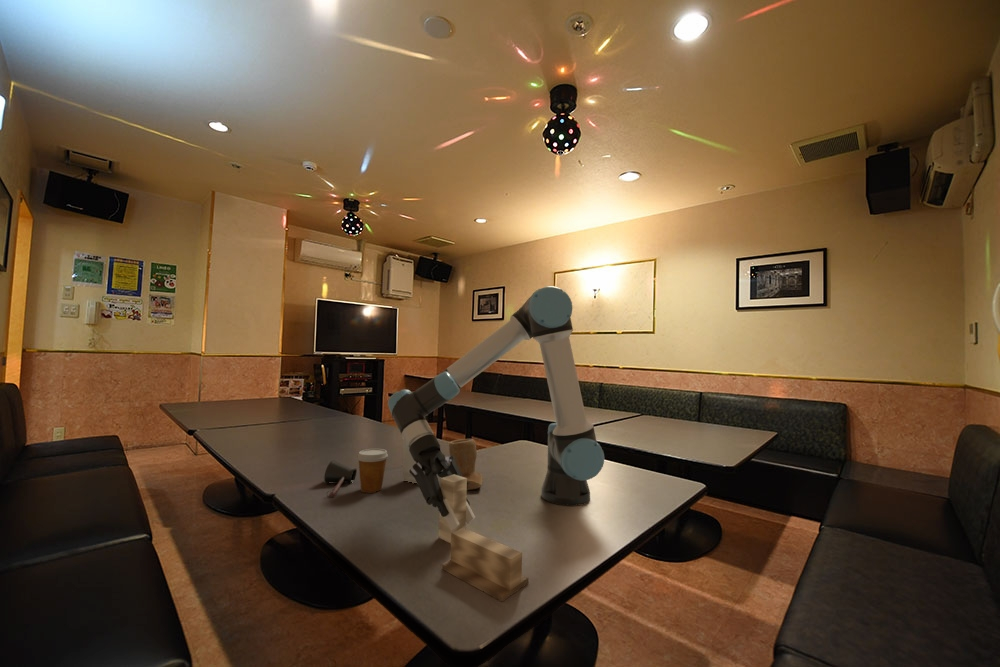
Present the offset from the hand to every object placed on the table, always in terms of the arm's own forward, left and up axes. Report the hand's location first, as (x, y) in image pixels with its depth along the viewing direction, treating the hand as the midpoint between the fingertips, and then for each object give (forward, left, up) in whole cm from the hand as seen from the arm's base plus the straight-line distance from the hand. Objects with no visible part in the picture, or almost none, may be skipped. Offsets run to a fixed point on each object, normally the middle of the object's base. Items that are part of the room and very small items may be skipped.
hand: (463, 523), depth 94 cm
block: (+3, -2, -4) cm, 6 cm away
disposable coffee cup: (+34, -33, -4) cm, 48 cm away
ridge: (-6, +14, -4) cm, 16 cm away
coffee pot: (+46, -34, -5) cm, 58 cm away
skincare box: (+22, -43, -4) cm, 49 cm away
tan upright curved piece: (+5, -42, -5) cm, 43 cm away
